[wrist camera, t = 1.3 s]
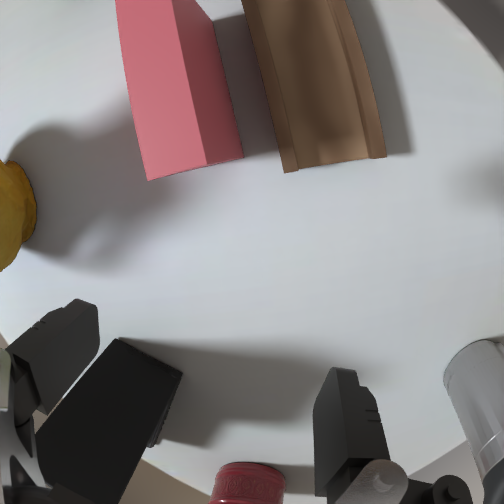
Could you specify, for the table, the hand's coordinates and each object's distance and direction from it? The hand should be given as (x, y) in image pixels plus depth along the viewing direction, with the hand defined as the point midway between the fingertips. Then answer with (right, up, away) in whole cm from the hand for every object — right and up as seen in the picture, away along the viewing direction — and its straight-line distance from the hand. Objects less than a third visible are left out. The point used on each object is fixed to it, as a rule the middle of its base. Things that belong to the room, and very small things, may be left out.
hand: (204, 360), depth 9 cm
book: (-3, +19, +17) cm, 26 cm away
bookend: (-17, -20, +33) cm, 42 cm away
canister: (+2, -38, +37) cm, 53 cm away
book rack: (+7, +21, +15) cm, 26 cm away
